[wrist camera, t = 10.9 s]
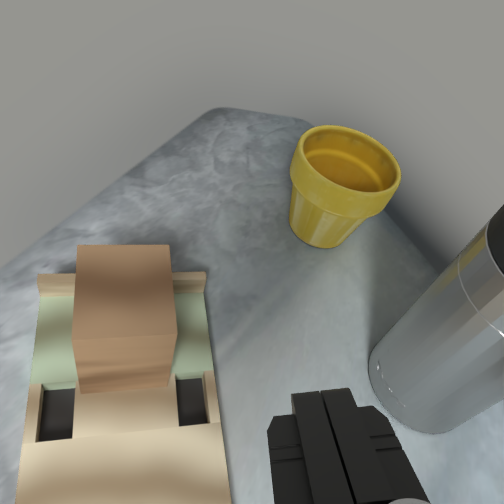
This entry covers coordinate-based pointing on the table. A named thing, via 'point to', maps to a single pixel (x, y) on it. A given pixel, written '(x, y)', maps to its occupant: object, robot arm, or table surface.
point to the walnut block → (123, 317)
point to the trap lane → (122, 417)
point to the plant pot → (338, 183)
